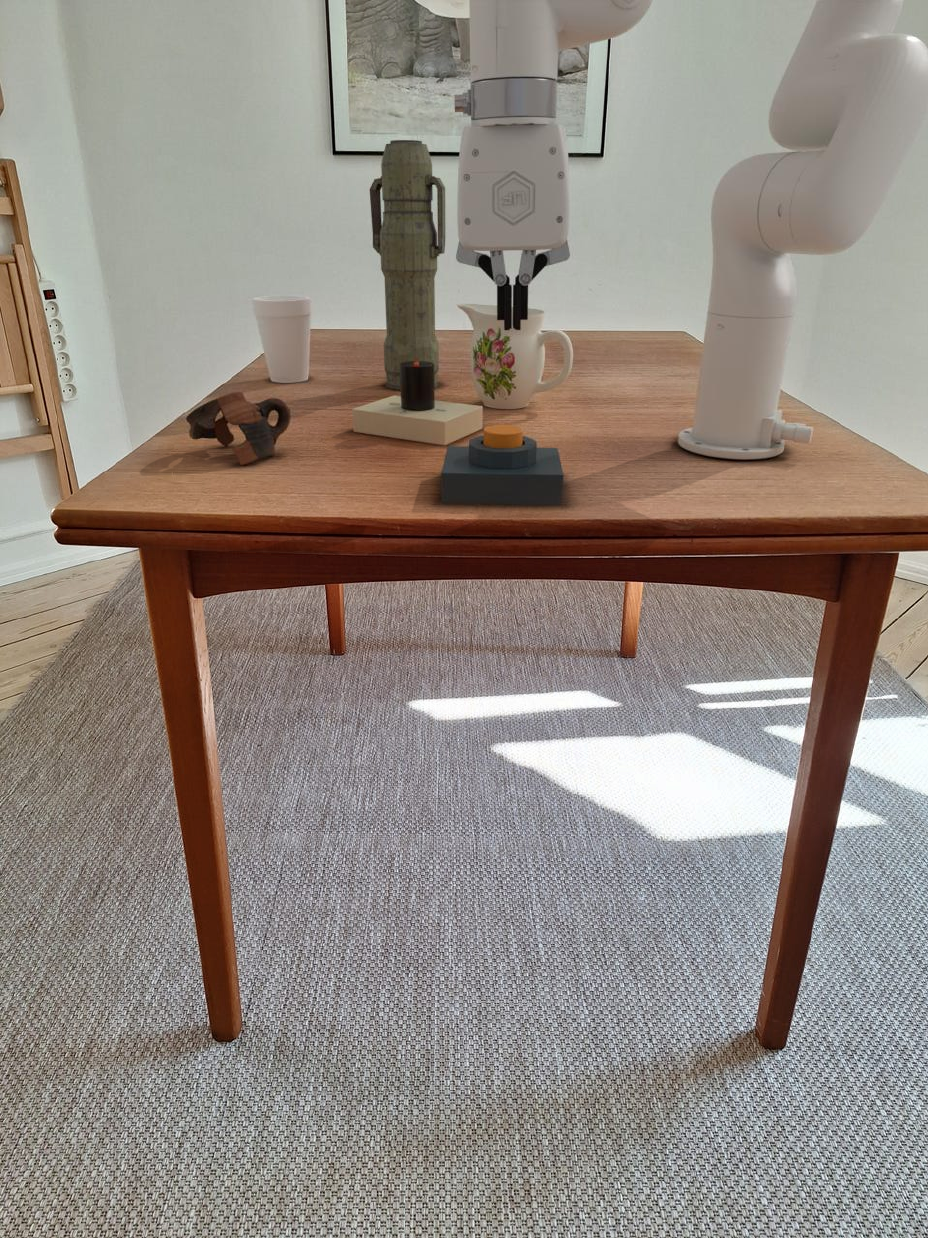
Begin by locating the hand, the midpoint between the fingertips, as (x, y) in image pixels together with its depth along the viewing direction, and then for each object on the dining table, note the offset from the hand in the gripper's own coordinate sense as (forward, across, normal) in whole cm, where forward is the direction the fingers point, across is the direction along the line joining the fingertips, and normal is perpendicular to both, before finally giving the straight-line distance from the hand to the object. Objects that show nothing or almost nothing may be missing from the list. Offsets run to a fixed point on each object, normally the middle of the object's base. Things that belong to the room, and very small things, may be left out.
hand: (512, 327), depth 80 cm
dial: (+13, -12, +23) cm, 29 cm away
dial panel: (+16, -12, +23) cm, 30 cm away
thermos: (+16, -16, +53) cm, 57 cm away
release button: (+11, -1, -2) cm, 11 cm away
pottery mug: (+15, -32, +10) cm, 37 cm away
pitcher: (+17, +1, +39) cm, 42 cm away
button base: (+16, -1, -2) cm, 16 cm away
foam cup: (+16, -37, +57) cm, 70 cm away
